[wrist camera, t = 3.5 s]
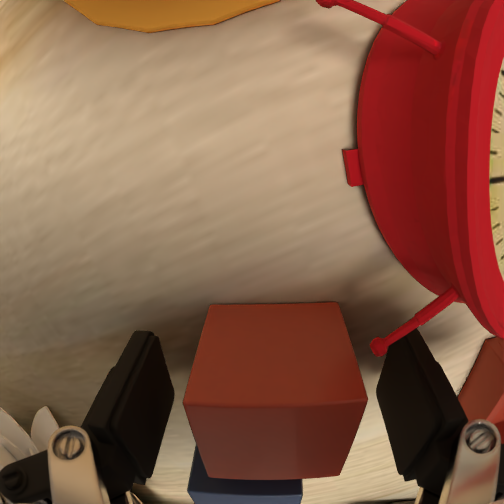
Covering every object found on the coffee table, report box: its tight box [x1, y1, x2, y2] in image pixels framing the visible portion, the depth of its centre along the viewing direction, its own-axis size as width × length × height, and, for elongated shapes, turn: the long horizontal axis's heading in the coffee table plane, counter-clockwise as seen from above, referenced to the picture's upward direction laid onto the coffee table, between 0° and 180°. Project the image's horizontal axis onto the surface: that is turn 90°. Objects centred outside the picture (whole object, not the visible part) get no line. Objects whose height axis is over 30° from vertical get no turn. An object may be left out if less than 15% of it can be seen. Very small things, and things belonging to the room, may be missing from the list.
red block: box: [183, 302, 368, 480], centre depth 9 cm, size 4×4×4 cm
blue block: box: [187, 444, 303, 504], centre depth 11 cm, size 4×4×4 cm
